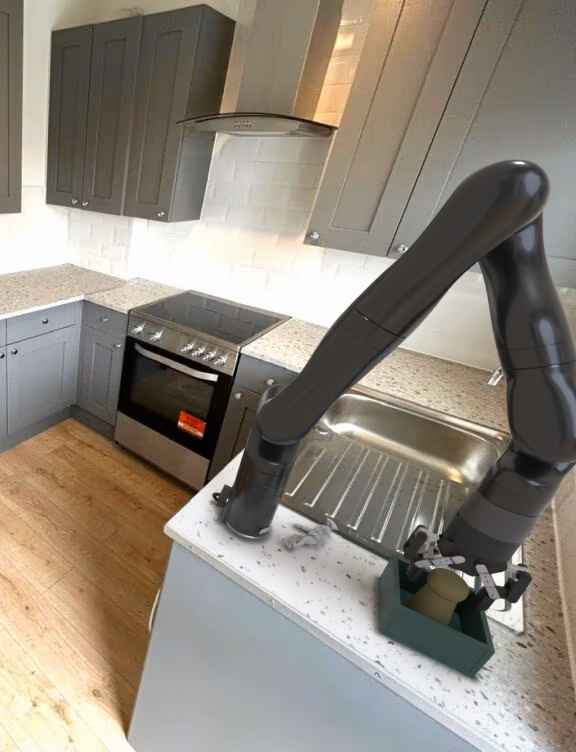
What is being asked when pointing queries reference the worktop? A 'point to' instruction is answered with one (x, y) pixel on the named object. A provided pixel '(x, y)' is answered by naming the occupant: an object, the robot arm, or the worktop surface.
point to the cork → (439, 595)
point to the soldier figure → (311, 534)
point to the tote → (433, 623)
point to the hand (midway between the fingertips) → (442, 592)
